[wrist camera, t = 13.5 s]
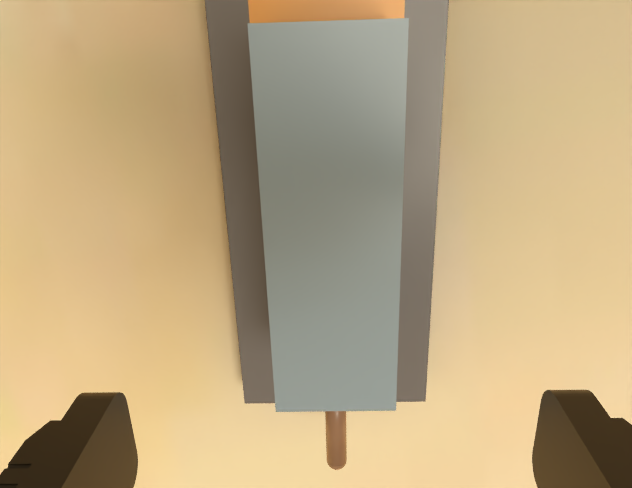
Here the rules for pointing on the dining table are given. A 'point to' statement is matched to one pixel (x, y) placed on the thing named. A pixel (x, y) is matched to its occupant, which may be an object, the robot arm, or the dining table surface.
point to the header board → (243, 179)
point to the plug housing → (332, 211)
